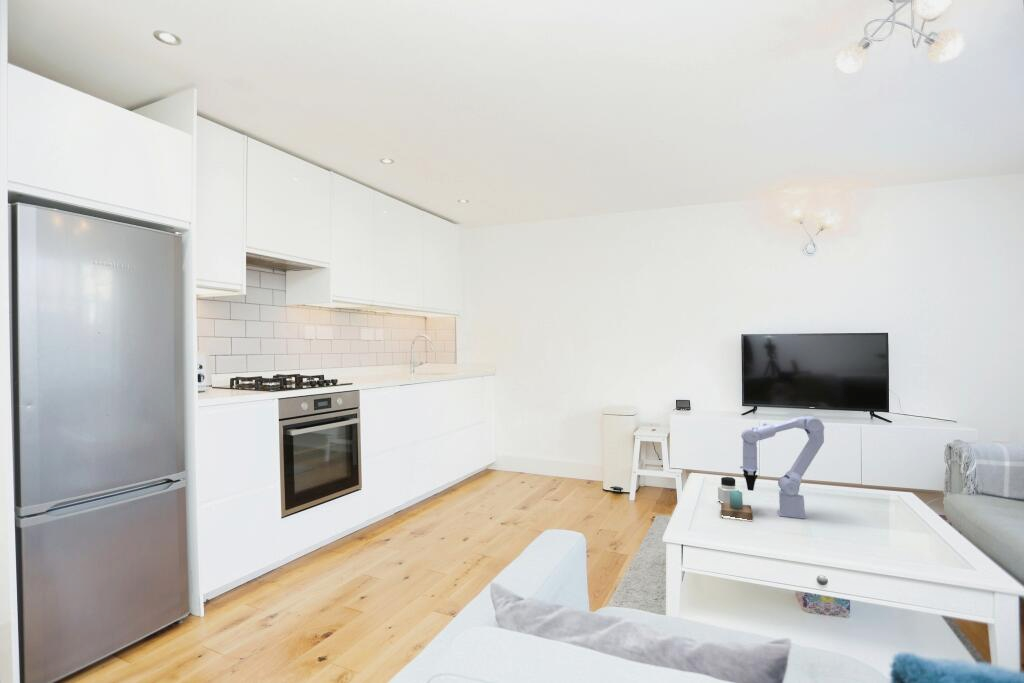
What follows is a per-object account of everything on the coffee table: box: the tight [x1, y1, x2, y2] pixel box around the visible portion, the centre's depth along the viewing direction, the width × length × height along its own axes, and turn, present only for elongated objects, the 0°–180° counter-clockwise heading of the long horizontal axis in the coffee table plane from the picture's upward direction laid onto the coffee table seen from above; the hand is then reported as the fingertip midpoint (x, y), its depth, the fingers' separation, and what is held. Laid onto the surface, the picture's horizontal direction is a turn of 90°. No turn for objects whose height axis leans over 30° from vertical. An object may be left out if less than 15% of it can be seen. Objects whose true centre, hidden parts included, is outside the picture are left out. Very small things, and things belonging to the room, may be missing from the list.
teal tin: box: [730, 490, 744, 509], centre depth 220 cm, size 5×5×6 cm
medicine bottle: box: [717, 476, 740, 503], centre depth 239 cm, size 7×7×12 cm
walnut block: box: [720, 503, 753, 520], centre depth 220 cm, size 12×12×4 cm
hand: (750, 488), depth 226 cm, fingers open, 7 cm apart
